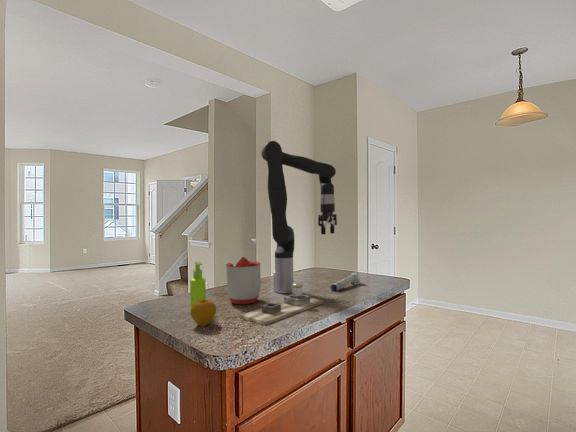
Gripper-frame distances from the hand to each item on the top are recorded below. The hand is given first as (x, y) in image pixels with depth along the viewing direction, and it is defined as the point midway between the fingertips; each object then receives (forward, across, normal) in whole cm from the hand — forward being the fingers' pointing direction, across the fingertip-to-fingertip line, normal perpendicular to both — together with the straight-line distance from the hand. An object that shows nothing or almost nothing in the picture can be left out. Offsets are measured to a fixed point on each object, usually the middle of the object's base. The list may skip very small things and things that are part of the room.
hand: (327, 233), depth 172 cm
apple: (+28, +77, -2) cm, 82 cm away
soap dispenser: (+28, +69, -17) cm, 76 cm away
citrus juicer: (+28, +47, -15) cm, 57 cm away
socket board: (+28, +46, +9) cm, 55 cm away
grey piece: (+29, -5, +8) cm, 30 cm away
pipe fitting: (+27, +38, +9) cm, 47 cm away
